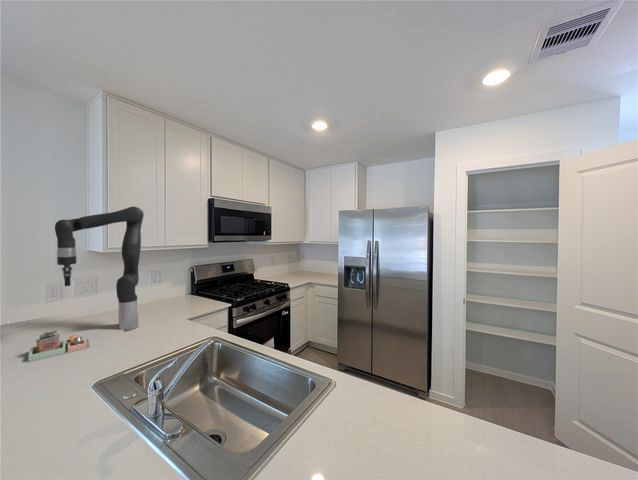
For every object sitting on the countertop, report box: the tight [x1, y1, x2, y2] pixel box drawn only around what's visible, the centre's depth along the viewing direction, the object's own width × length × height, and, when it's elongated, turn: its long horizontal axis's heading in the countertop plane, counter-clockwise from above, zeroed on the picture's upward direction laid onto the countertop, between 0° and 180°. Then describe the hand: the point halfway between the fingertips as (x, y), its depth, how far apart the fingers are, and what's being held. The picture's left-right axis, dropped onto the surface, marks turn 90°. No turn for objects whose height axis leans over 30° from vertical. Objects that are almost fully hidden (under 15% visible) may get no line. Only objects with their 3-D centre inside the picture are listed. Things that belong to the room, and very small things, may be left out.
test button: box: [68, 334, 80, 342], centre depth 130 cm, size 4×4×4 cm
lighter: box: [35, 329, 60, 353], centre depth 121 cm, size 8×3×10 cm, turn 159°
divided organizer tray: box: [25, 338, 90, 364], centre depth 124 cm, size 21×14×4 cm, turn 135°
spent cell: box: [73, 335, 83, 345], centre depth 126 cm, size 3×3×6 cm
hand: (67, 284), depth 139 cm, fingers open, 8 cm apart
